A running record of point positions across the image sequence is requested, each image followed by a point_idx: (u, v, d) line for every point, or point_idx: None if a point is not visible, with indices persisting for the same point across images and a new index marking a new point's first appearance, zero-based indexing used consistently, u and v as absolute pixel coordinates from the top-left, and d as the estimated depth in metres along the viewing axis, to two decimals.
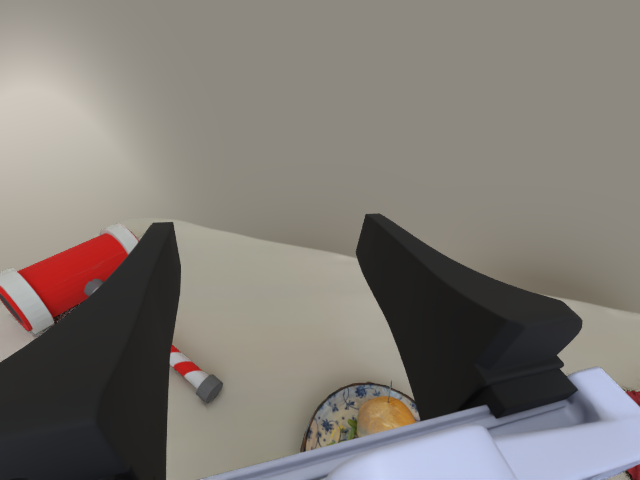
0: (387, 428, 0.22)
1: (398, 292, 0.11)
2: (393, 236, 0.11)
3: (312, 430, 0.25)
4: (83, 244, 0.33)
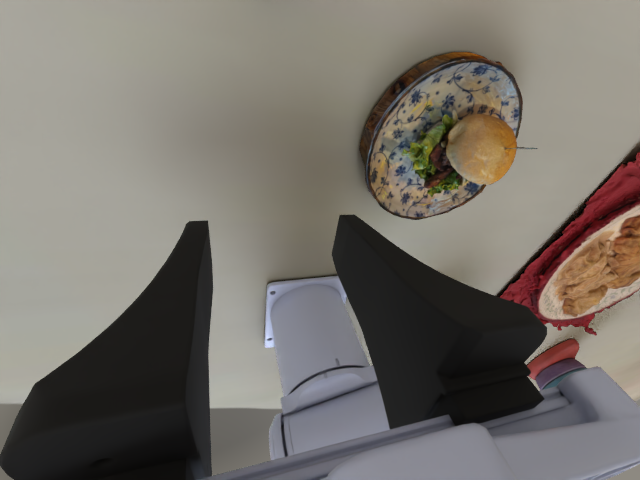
0: (481, 175, 0.19)
1: (369, 296, 0.11)
2: (364, 238, 0.11)
3: (399, 103, 0.20)
4: None
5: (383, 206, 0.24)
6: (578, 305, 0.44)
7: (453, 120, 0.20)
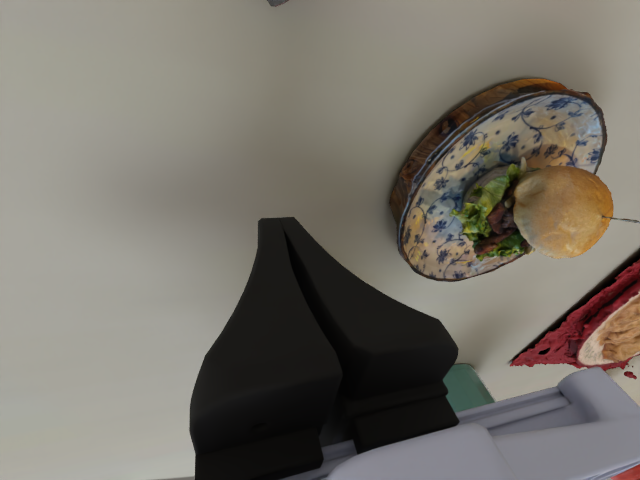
0: (564, 250, 0.14)
1: None
2: (293, 242, 0.10)
3: (449, 149, 0.14)
4: None
5: (416, 270, 0.19)
6: (621, 351, 0.38)
7: (521, 170, 0.15)
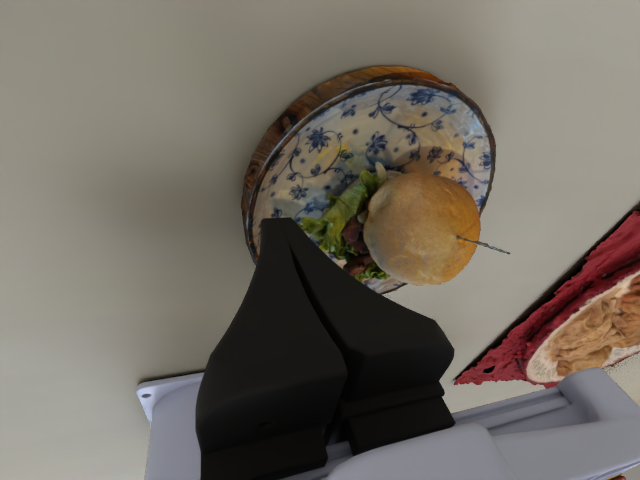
0: (420, 278, 0.11)
1: None
2: (290, 243, 0.10)
3: (284, 151, 0.12)
4: None
5: None
6: (575, 368, 0.35)
7: (379, 178, 0.12)
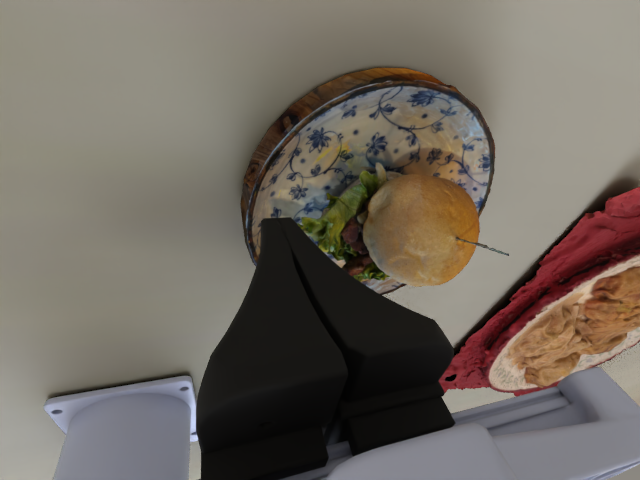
0: (419, 278, 0.11)
1: None
2: (289, 243, 0.10)
3: (285, 151, 0.12)
4: None
5: None
6: (543, 376, 0.34)
7: (379, 179, 0.12)
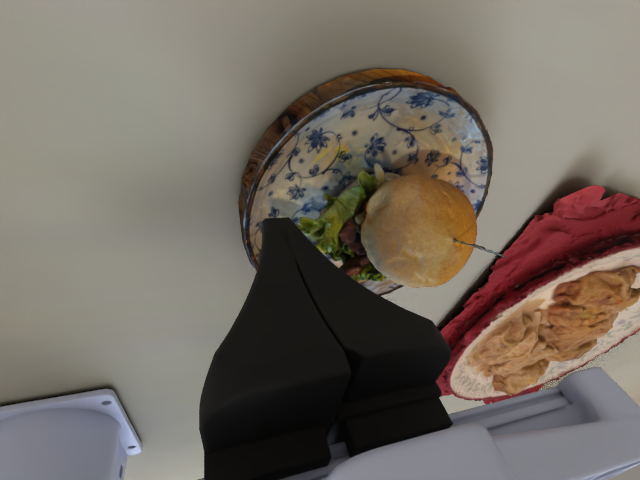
0: (416, 280, 0.11)
1: None
2: (287, 243, 0.10)
3: (283, 151, 0.12)
4: None
5: None
6: (511, 383, 0.33)
7: (377, 180, 0.12)
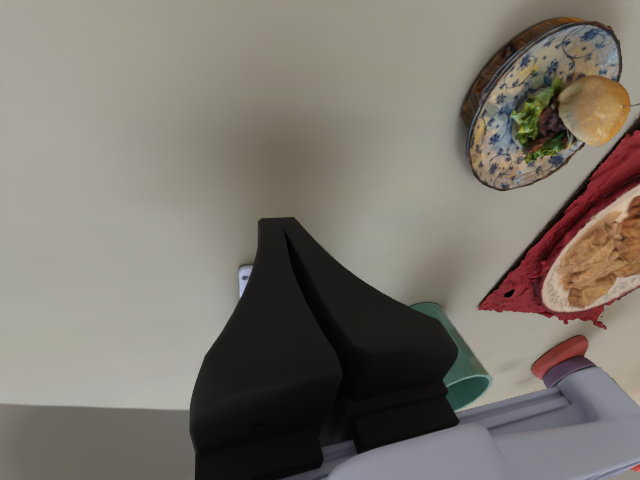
0: (596, 134, 0.20)
1: None
2: (293, 242, 0.10)
3: (513, 64, 0.20)
4: None
5: (475, 174, 0.25)
6: (585, 295, 0.40)
7: (562, 83, 0.21)
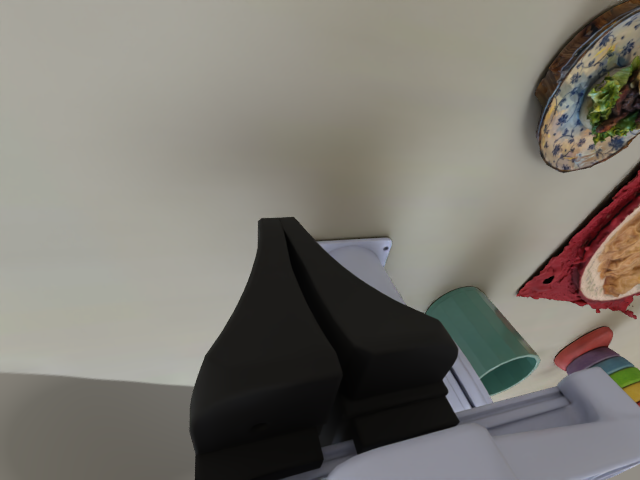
0: None
1: None
2: (293, 242, 0.10)
3: None
4: None
5: (542, 154, 0.25)
6: (621, 284, 0.41)
7: None
